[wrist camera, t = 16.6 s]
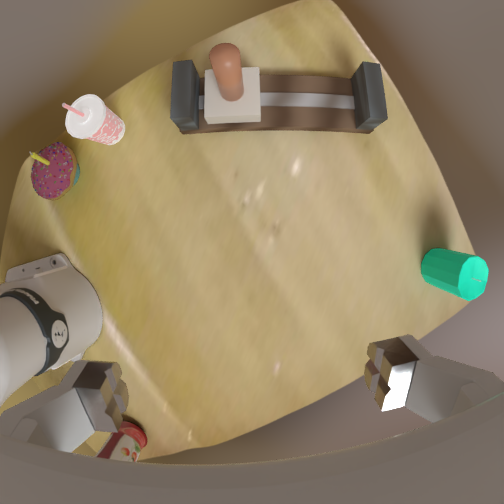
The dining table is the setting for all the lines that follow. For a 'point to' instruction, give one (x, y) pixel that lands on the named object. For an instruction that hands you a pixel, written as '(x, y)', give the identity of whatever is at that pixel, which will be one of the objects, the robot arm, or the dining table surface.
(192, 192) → the dining table surface
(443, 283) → the candle
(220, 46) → the peach cylinder post
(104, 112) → the beverage cup
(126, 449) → the liquor
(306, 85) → the rail
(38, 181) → the cupcake
